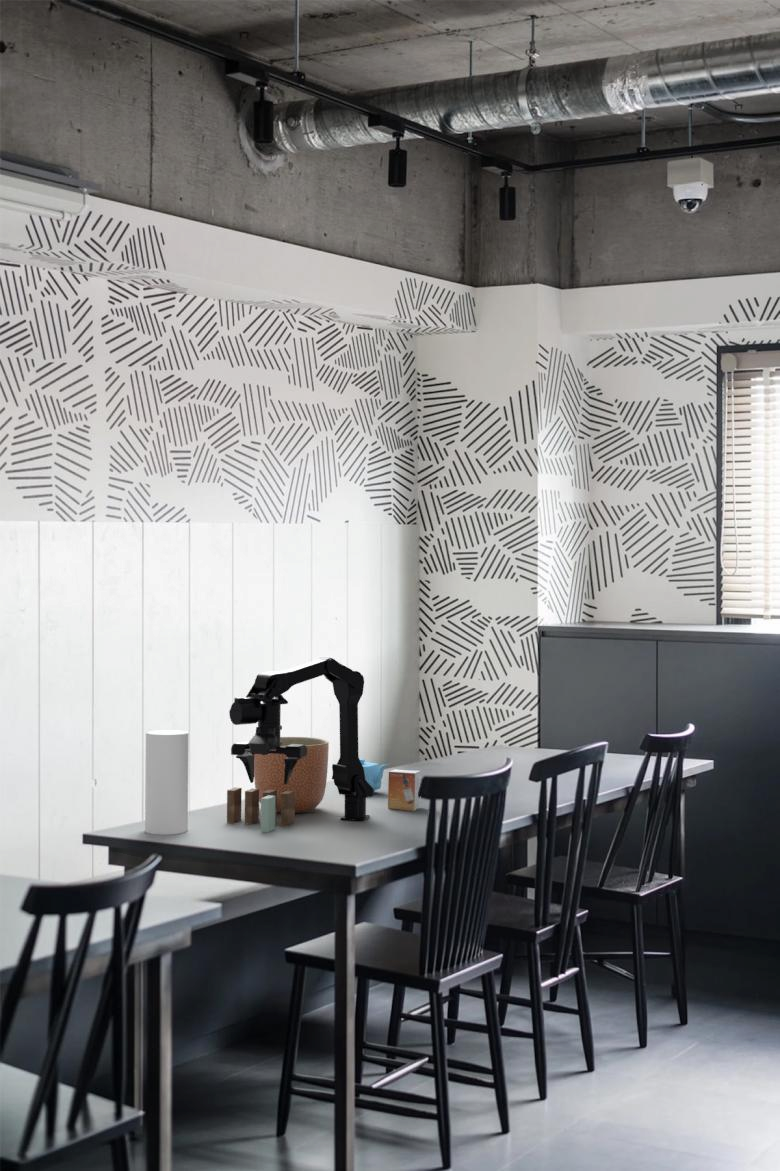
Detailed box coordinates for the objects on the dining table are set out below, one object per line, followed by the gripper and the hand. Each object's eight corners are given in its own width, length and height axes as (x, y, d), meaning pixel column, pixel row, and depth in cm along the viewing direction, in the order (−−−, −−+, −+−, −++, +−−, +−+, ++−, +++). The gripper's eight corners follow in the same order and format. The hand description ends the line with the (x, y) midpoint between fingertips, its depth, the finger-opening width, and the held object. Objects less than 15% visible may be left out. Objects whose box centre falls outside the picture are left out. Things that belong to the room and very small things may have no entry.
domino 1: (226, 822, 375) (227, 790, 375) (234, 819, 380) (234, 787, 379) (233, 823, 374) (234, 790, 374) (241, 819, 379) (241, 787, 379)
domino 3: (262, 825, 372) (262, 792, 372) (269, 821, 377) (269, 789, 377) (269, 825, 371) (270, 792, 371) (276, 822, 376) (276, 789, 376)
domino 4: (260, 831, 362) (261, 798, 362) (267, 828, 367) (268, 795, 367) (268, 832, 362) (268, 798, 362) (275, 828, 367) (275, 795, 367)
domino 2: (244, 823, 373) (244, 791, 373) (251, 820, 378) (252, 788, 378) (251, 824, 373) (252, 791, 373) (258, 821, 378) (259, 788, 377)
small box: (387, 809, 398) (387, 771, 398) (393, 806, 403) (394, 768, 403) (414, 811, 395) (415, 773, 395) (420, 807, 401) (421, 770, 400)
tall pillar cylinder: (187, 826, 369) (188, 729, 368) (188, 834, 358) (188, 734, 358) (145, 827, 367) (146, 729, 367) (144, 835, 357) (145, 734, 356)
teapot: (324, 793, 424) (324, 759, 423) (347, 787, 436) (348, 754, 436) (378, 798, 415) (378, 764, 415) (400, 792, 428) (400, 758, 427)
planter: (268, 801, 408) (269, 735, 407) (337, 806, 402) (338, 738, 402) (240, 814, 388) (241, 744, 387) (313, 818, 382) (314, 747, 382)
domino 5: (280, 826, 371) (280, 793, 370) (287, 822, 375) (287, 790, 375) (287, 826, 370) (288, 793, 370) (294, 823, 375) (294, 790, 375)
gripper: (222, 724, 359) (222, 786, 359) (292, 727, 354) (292, 790, 354) (239, 719, 370) (239, 780, 370) (307, 722, 365) (307, 783, 365)
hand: (268, 783), depth 364 cm, fingers open, 9 cm apart
